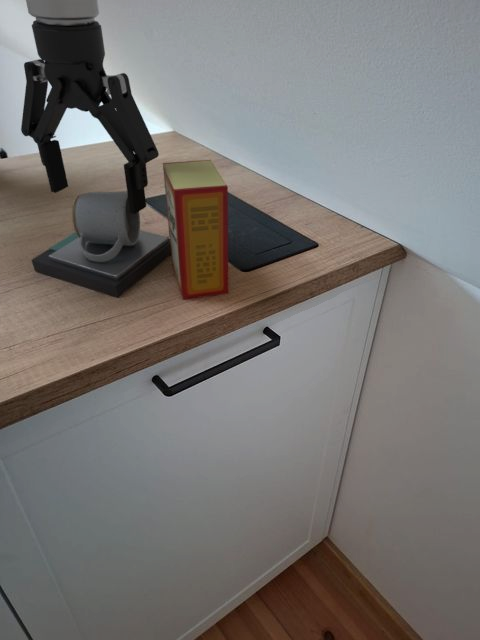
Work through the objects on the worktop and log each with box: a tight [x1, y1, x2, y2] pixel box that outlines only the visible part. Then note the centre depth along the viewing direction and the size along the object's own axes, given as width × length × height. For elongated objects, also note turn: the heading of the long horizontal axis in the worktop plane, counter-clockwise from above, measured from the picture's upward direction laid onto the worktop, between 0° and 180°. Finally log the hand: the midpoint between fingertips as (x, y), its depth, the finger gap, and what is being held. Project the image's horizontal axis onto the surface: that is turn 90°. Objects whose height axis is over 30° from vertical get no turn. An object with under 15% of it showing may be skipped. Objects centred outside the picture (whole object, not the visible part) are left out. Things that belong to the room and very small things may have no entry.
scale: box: [31, 232, 171, 298], centre depth 75 cm, size 15×15×2 cm
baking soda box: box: [162, 159, 229, 300], centre depth 67 cm, size 10×6×16 cm
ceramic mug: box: [71, 190, 141, 262], centre depth 71 cm, size 11×8×8 cm
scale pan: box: [49, 229, 169, 281], centre depth 74 cm, size 12×13×1 cm
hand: (98, 199), depth 69 cm, fingers open, 13 cm apart
